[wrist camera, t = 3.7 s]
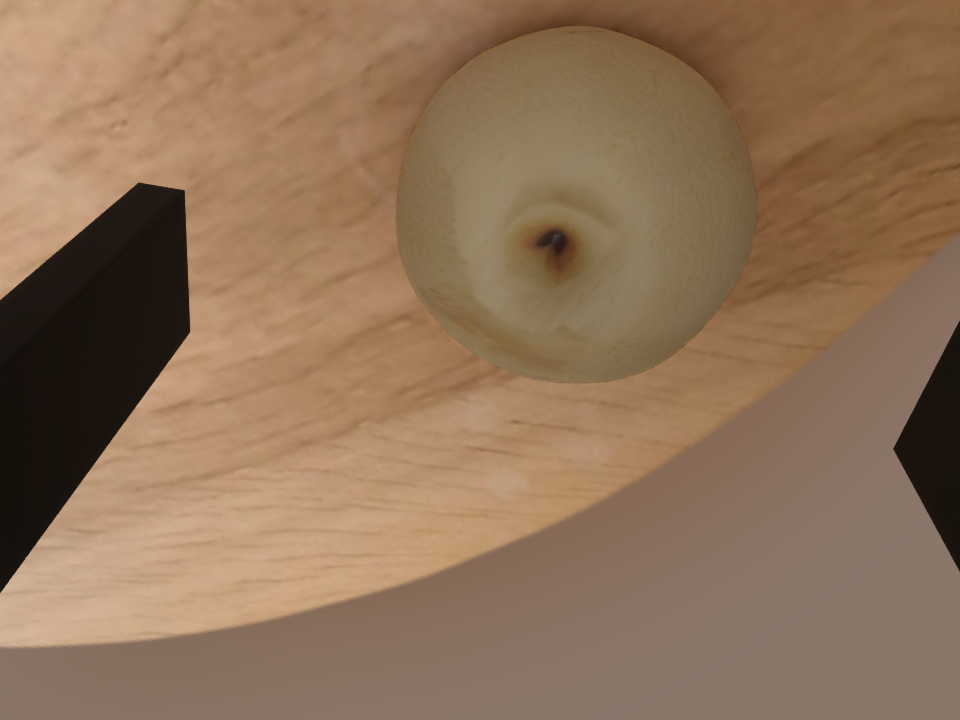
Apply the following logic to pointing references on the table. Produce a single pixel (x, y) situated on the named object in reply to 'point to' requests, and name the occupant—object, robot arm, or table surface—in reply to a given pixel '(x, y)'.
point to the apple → (575, 205)
